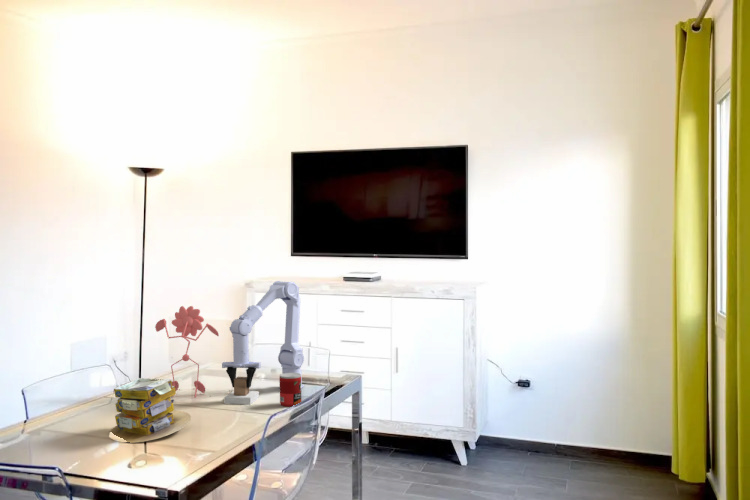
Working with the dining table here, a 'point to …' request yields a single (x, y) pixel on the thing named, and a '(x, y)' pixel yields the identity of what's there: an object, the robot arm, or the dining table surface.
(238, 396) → the grey plinth
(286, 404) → the canned food
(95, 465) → the dining table surface
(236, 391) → the walnut block
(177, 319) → the figurine
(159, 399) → the stacked yellow food packages
